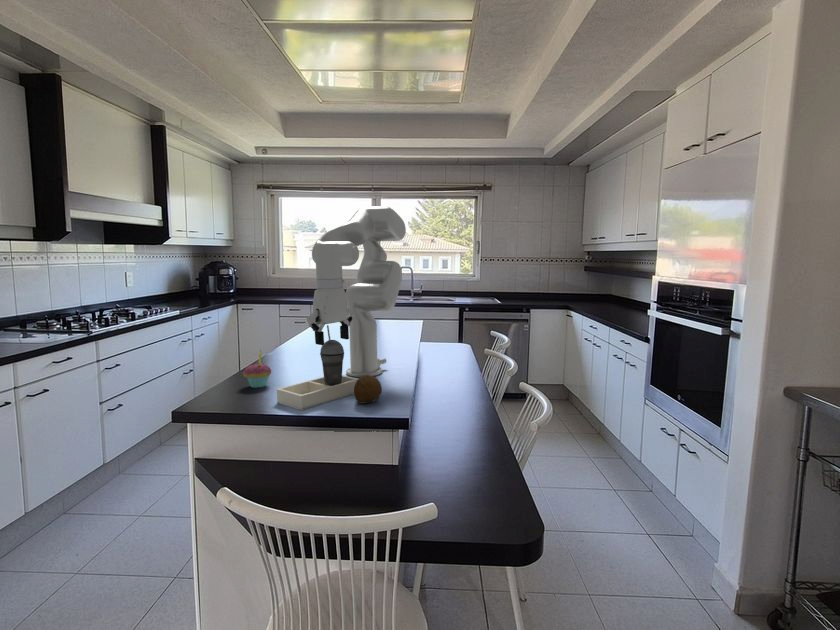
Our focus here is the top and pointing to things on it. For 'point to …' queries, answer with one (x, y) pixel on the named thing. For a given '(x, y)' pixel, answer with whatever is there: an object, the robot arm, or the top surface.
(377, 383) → the potato
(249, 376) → the cupcake
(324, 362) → the beverage cup
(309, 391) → the cup carrier
